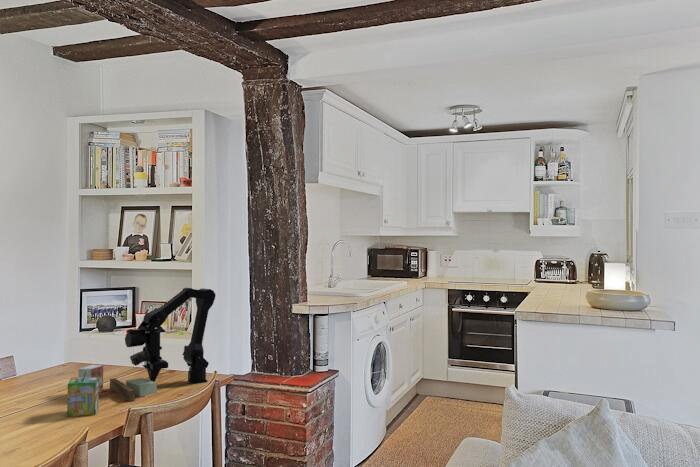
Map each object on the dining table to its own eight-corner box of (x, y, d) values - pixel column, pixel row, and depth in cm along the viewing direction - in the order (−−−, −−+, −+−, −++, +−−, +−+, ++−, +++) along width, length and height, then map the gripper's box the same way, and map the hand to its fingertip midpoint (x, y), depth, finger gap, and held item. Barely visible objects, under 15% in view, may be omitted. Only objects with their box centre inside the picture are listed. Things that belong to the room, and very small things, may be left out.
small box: (90, 396, 226) (91, 369, 226) (77, 395, 227) (78, 368, 227) (103, 391, 234) (103, 364, 234) (91, 390, 235) (91, 364, 235)
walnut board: (115, 388, 239) (115, 378, 239) (134, 400, 220) (134, 390, 220) (109, 388, 237) (109, 378, 237) (129, 401, 219) (129, 391, 219)
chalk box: (71, 410, 208) (71, 368, 208) (99, 408, 211) (99, 366, 211) (66, 417, 199) (66, 373, 199) (95, 415, 202) (95, 372, 202)
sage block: (142, 388, 240) (142, 377, 240) (156, 394, 231) (156, 382, 231) (125, 391, 235) (126, 380, 235) (139, 397, 226) (139, 385, 226)
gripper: (124, 343, 239) (124, 381, 238) (140, 349, 224) (139, 391, 224) (152, 340, 245) (151, 377, 245) (168, 346, 231) (168, 386, 231)
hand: (152, 383), depth 236 cm, fingers closed
